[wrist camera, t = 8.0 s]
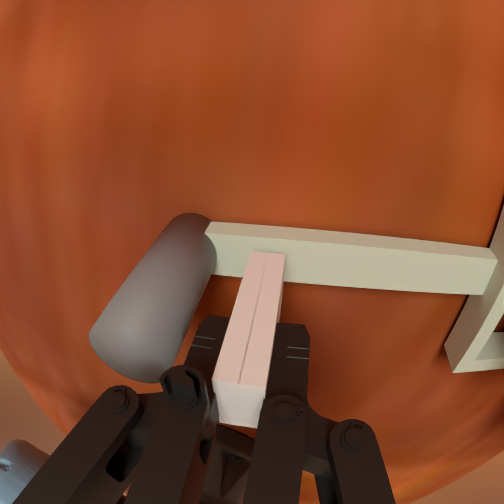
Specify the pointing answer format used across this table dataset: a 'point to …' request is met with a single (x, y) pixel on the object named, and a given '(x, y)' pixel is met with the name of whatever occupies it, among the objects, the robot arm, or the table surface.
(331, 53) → the table surface
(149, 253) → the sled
